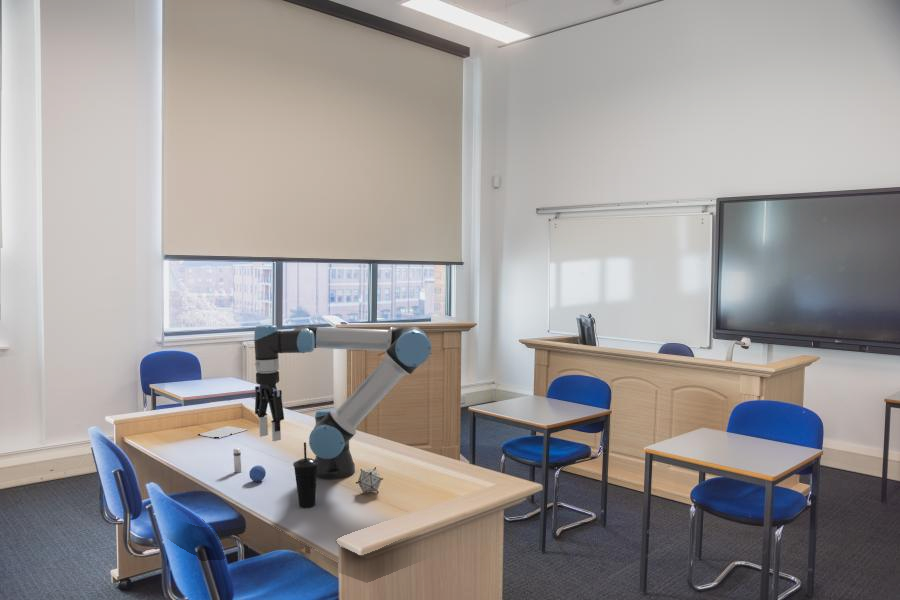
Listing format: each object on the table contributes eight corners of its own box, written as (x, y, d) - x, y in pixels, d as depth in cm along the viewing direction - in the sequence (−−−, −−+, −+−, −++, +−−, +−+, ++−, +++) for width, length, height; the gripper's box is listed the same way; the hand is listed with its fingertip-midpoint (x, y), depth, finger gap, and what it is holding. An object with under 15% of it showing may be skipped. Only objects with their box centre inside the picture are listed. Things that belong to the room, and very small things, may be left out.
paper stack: (262, 433, 299) (262, 432, 299) (216, 447, 278) (216, 446, 278) (227, 427, 312) (227, 425, 311) (181, 440, 290) (181, 439, 290)
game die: (373, 505, 219) (376, 487, 212) (350, 495, 220) (352, 477, 214) (385, 484, 225) (388, 466, 219) (362, 474, 227) (365, 456, 221)
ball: (269, 480, 234) (268, 465, 234) (256, 485, 230) (255, 469, 229) (259, 477, 237) (258, 462, 237) (246, 482, 233) (245, 466, 233)
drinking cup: (321, 500, 214) (319, 439, 212) (317, 509, 206) (315, 445, 205) (297, 501, 213) (295, 439, 212) (292, 510, 206) (290, 446, 205)
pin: (242, 471, 245) (241, 448, 244) (237, 473, 243) (236, 450, 242) (238, 470, 246) (237, 447, 245) (232, 472, 244) (231, 449, 243)
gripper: (242, 369, 229) (245, 434, 230) (272, 376, 214) (275, 446, 215) (262, 366, 234) (265, 430, 235) (293, 373, 219) (296, 441, 220)
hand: (270, 438), depth 225 cm, fingers open, 8 cm apart
